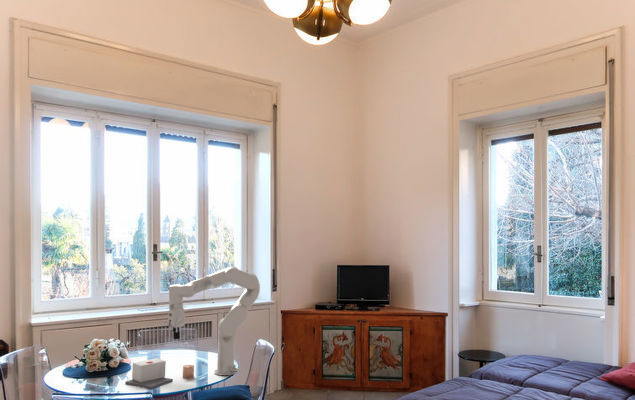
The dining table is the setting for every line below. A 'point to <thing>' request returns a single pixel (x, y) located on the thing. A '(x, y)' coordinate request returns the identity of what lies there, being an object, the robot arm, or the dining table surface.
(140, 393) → the dining table surface
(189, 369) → the tan small cube
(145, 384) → the board
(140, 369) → the supplement box
